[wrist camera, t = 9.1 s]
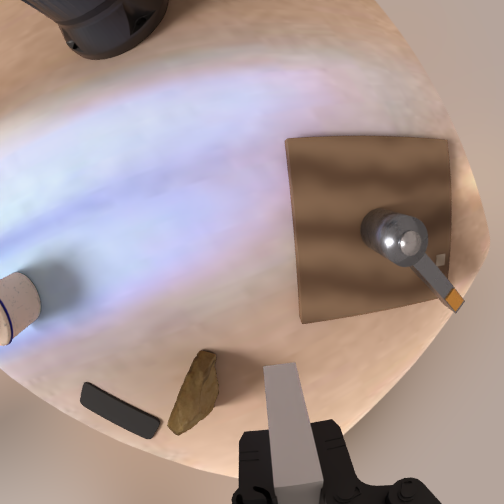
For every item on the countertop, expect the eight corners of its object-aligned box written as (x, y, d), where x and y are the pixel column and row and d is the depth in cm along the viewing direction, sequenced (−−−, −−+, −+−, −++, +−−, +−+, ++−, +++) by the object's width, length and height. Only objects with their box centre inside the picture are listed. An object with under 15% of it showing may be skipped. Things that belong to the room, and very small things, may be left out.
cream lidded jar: (9, 260, 34) (-38, 283, 23) (46, 288, 36) (-1, 320, 24) (5, 315, 37) (-34, 344, 26) (39, 342, 38) (2, 378, 27)
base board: (284, 140, 32) (287, 138, 30) (438, 141, 31) (447, 139, 29) (299, 316, 37) (302, 324, 35) (438, 291, 37) (445, 296, 35)
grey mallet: (352, 232, 32) (379, 248, 25) (377, 199, 31) (410, 206, 24) (429, 307, 35) (459, 331, 27) (450, 279, 34) (482, 299, 27)
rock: (184, 340, 35) (146, 387, 36) (217, 391, 29) (171, 437, 30) (235, 353, 43) (198, 393, 44) (267, 393, 37) (225, 433, 38)
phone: (83, 380, 40) (161, 421, 41) (85, 378, 40) (162, 418, 42) (79, 403, 41) (150, 441, 43) (81, 401, 42) (151, 438, 44)
